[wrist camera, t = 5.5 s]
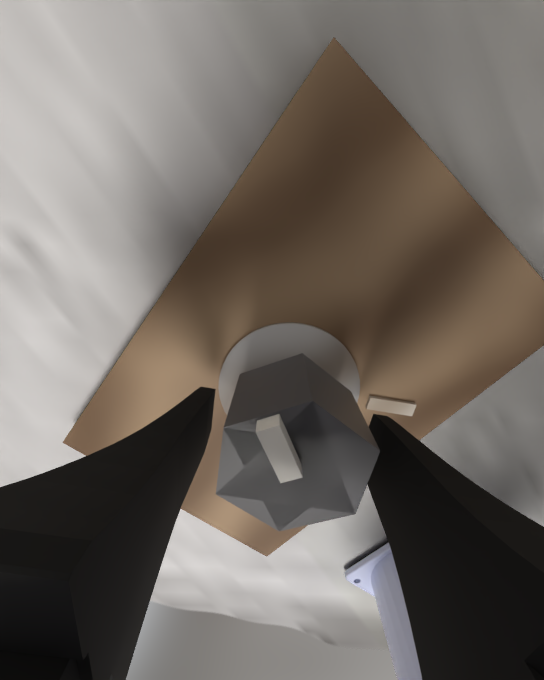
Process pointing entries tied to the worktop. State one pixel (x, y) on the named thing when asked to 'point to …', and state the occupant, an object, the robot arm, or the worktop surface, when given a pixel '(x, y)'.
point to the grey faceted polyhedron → (294, 446)
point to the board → (329, 286)
